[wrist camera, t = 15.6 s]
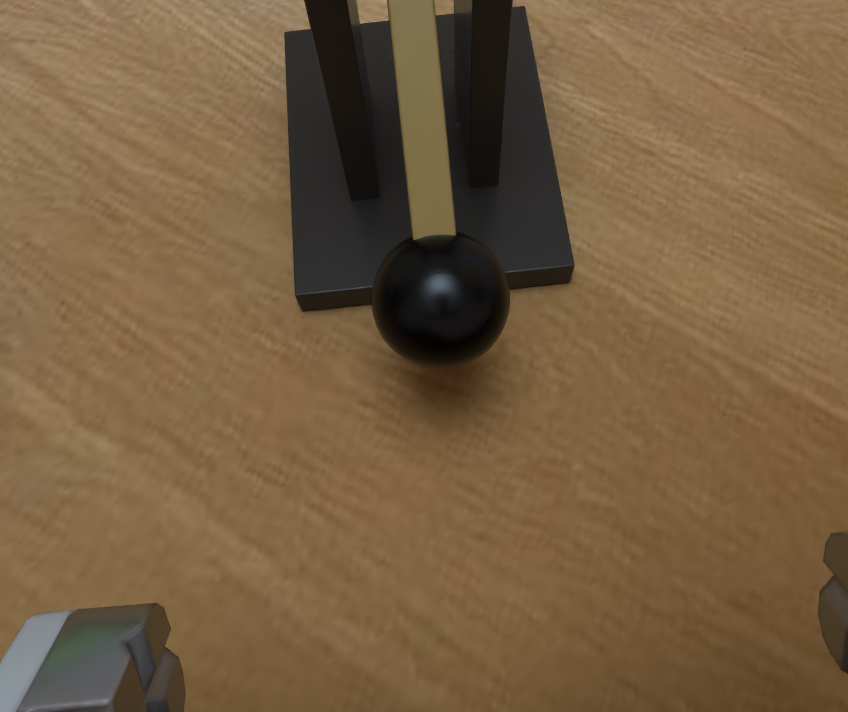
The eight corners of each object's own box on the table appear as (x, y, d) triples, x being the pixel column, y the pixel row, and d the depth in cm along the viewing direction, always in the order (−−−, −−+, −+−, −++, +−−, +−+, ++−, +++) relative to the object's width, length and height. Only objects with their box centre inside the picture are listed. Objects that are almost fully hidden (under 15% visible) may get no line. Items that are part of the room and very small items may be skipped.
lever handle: (506, 344, 23) (524, 376, 19) (381, 358, 23) (377, 392, 20) (463, -169, 20) (475, -241, 16) (320, -154, 20) (302, -222, 16)
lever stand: (570, 283, 27) (657, -36, 15) (301, 311, 27) (174, 17, 15) (522, 29, 31) (561, -378, 19) (290, 55, 31) (183, -336, 19)
